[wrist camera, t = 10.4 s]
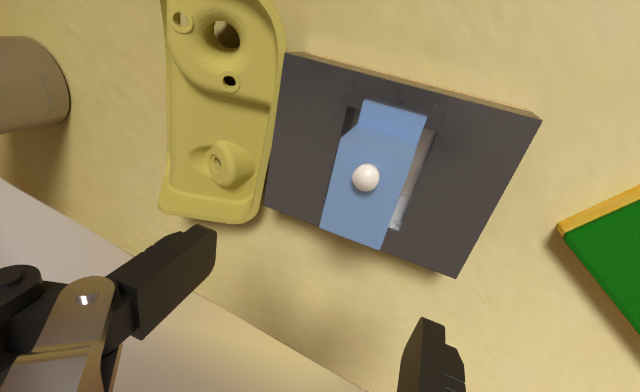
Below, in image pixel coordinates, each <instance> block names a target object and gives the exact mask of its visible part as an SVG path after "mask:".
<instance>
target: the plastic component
mask: <svg viewBox="0 0 640 392" xmlns="http://www.w3.org/2000/svg"><path fill="white" fill-rule="evenodd" d="M160 3H161V10H162V17H163V25H164V35H165V48H166V68H167V164H166V172H165V177H164V180H163V184H162V188H161V192H160V195H159V199H158V209H159V210H160V211H161V212H163V213H164V214H167V215H174V216H180V217H187V218H194V219H200V220H207V221H213V222H220V223H227V224H240V223H245V222H247V221H249V220H251V219H252V218H253V217H254V216H255V215H256V214H257V212H258V210H259V206H260V201H261V196H262V191H263V186H264V181H265V176H266V172H267V167H268V162H269V157H270V152H271V147H272V140H273V133H274V125H275V118H276V111H277V104H278V96H279V89H280V82H281V74H282V67H283V60H284V53H285V52H287V47H286V37H285V32H284V28H283V24H282V21H281V18H280V16H279V13H278V11H277V9H276V7H275V6H274V4H273V2H272V1H271V0H160ZM180 12H181V13H183V14H185V15H186V17H187V19H188V25H187V26H185V27H184V26H181V25H180ZM216 21H224V22H227V23H229V24H230V25H232V26H233V27H234V28H235V30H236V31H237V33H238V35H239V38H240V46H239V47H237V48H234V49H233V48H227V47H224V46H223V45H222V44H220V43H219V41H218V40H217V39H216V36H215V34H214V25H215V22H216ZM225 76H232V77H233V78H234V79H235V82H236V84H235V85H234V86H229V85H227V84H226V83H225V81H224V77H225ZM219 160H220V163H221V166H220V163H219Z"/></svg>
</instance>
